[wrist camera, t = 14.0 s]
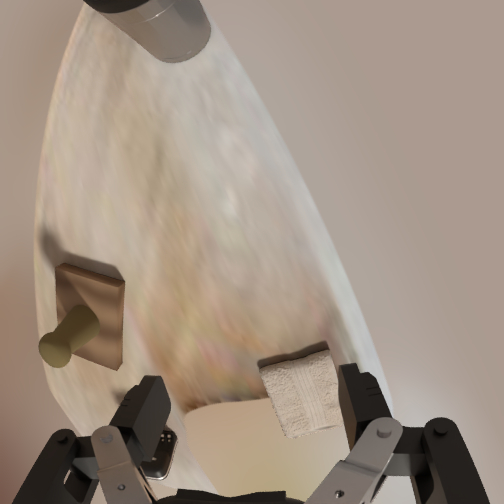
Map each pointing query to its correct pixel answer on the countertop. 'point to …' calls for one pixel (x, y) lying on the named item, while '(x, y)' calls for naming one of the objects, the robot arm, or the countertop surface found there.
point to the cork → (69, 336)
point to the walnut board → (94, 310)
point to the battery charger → (161, 457)
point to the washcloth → (304, 394)
